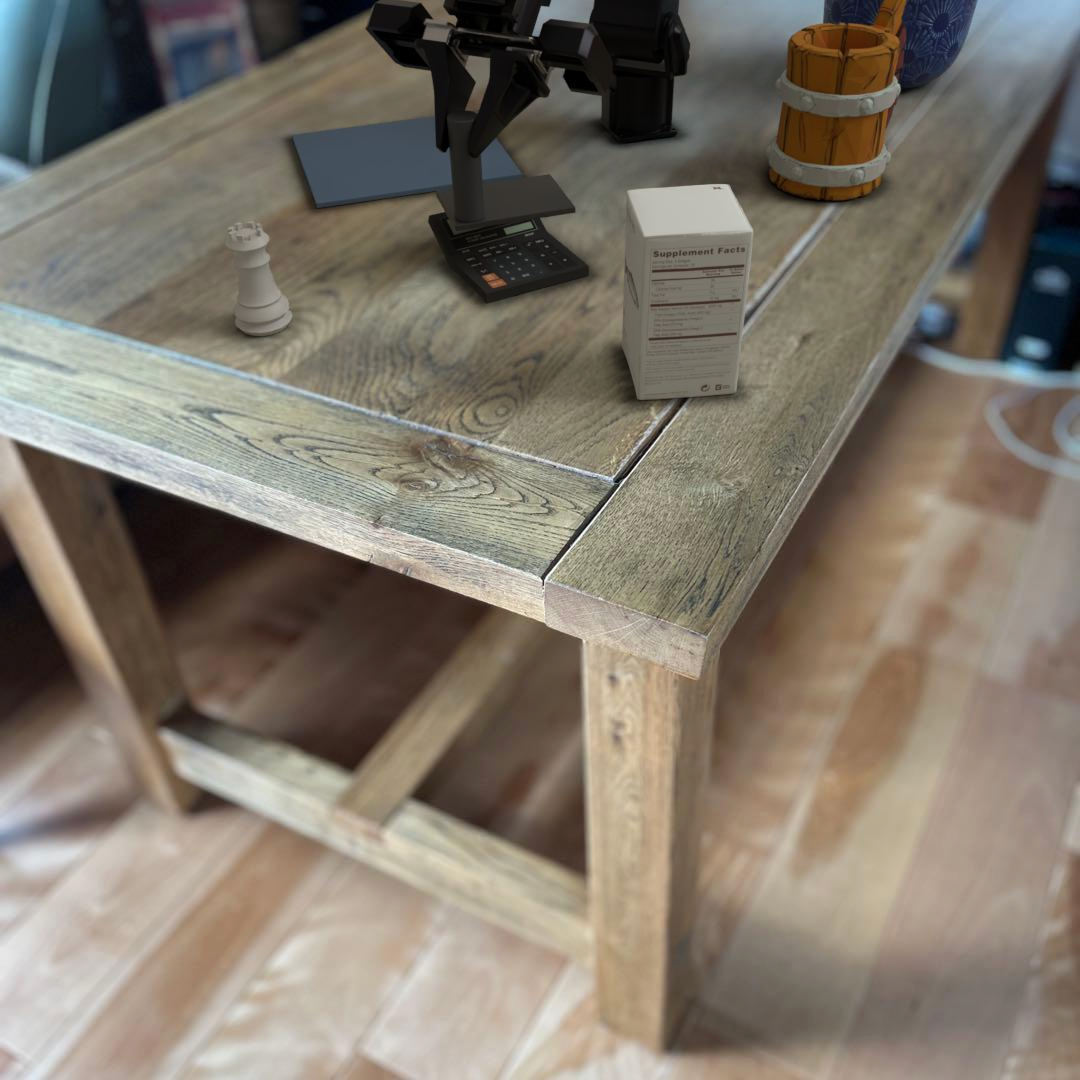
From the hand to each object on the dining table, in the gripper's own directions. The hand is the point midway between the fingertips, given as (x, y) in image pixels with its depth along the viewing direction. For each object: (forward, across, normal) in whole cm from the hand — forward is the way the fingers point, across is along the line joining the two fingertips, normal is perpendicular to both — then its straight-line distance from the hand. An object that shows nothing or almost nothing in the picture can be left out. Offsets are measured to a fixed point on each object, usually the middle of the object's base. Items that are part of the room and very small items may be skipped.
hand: (455, 152), depth 84 cm
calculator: (+4, +1, +12) cm, 13 cm away
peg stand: (0, +1, +8) cm, 8 cm away
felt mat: (-7, -19, +23) cm, 30 cm away
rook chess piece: (+16, -12, 0) cm, 20 cm away
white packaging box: (+12, +20, +4) cm, 24 cm away
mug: (-16, +22, +33) cm, 43 cm away
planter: (-36, +20, +52) cm, 67 cm away
